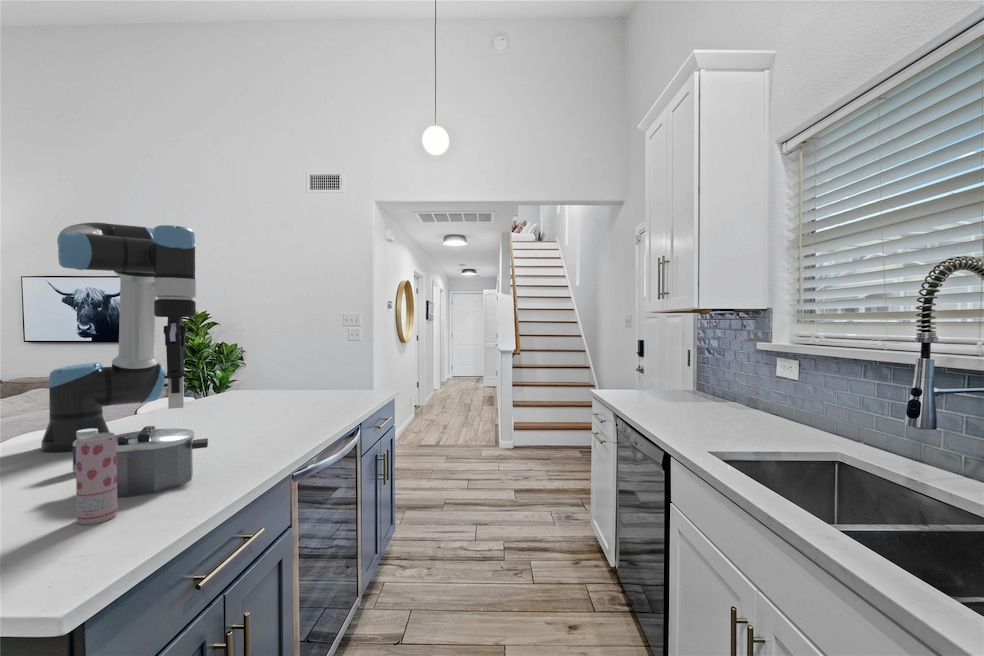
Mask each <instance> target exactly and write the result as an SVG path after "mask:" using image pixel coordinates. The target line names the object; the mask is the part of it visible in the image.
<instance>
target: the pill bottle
mask: <svg viewBox="0 0 984 656" xmlns="http://www.w3.org/2000/svg"><path fill="white" fill-rule="evenodd" d="M95 433H98V429H83V430H79V431H76V437H77V438H78V437H80V436H84V435H89V434H95ZM76 443H77V440H75V441H74V442H73V450H72V473H74V474H76Z"/></svg>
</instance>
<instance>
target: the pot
mask: <svg viewBox="0 0 984 656" xmlns="http://www.w3.org/2000/svg"><path fill="white" fill-rule="evenodd" d="M208 446H209V438H200V439H192V440H190V441H188V442H186V443H183V444H179V445H176V446H172V447H167V448H162V449H156V450H150V451H142V452H131V453H116V460H117V498H129V497H130V498H131V497H136V496H144V495H151V494H152V495H153V494H157V493H160V492H163V491H164V492H165V491H167V490H171V489H174V488H175V489H176V488H178V487H180V486H183V485H185V484H186V483H188V482H190V481H192V478H193V474H194V473H193V472H194V471H193V467H194V466H193V450H194V449H204V448H208Z"/></svg>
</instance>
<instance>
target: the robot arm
mask: <svg viewBox="0 0 984 656" xmlns="http://www.w3.org/2000/svg"><path fill="white" fill-rule="evenodd" d="M195 236H196V235H195V232H194V230H193V229H192V228H189V227H186V226H179V225H172V224H171V225H167V224H166V225H165V224H164V225H162V224H161V225H156V226H155V227H153V228H152V227H146V226H138V225H126V224H117V223H115V224H114V223H106V222H83V223H82V222H81V223H76V224H73V225H69V226H67V227H65V228H63V229H62V230H61V231H60V232H59V234H58V237H57V240H56V241H57V255H58V256H57V257H58V264H59V265H60V266H61V267H62V268H64V269H72V270H73V269H75V270H77V271H79V270H80V271H83V270H84V271H85V270H87V271H88V270H89V271H107V272H108V271H109V272H110V271H111V272H114V274H116V275H117V276H118V277H119V278H120V282H119V283H120V288H119V320H118V321H119V323H118V324H119V327H118V329H119V331H118V355H117V356H116V357H114V358H113V359H112V360H111V366H103V364H102V362H88V363H82V364H81V363H80V364H73V365H68V366H63V367H59V368H55V369H53V370H52V371H51V372H50V373H49V377H48V380H49V381H48V385H47V388H48V391H49V399H48V400H49V404H48V405H49V406H48V407H49V408H48V409H49V422H48V424H47V428H46V429H45V431H44V432H45V433H44V435H43V437H42V440H41V451H42V452H49V453H51V452H52V453H54V452H55V453H56V452H58V453H59V452H73V442H74V441H75V440H77V437H76V431H79V430H83V429H98V433H111V432H110V429H109V427H108V425H107V423H106V421H105V419H104V415H103V410H104V409H103V408H104V407H109V406H111V407H112V406H119V405H129V404H143V403H148V402H154V401H157V400H158V399H159V398H160V397H161V396H162V393H163V391H164V388H165V379H167V395H168V397H167V398H168V399H167V400H168V401H167V402H168V403H167V404H168V406H167V407H168V410H169V409H182V408H184V407H185V387H184V386H185V383H184V382H185V381H184V380H185V379H184V377H187V376H188V373H187V372H186V373H185V366H184V365H185V346H186V342H187V341H186V339H187V338H186V334H187V333H188V326H187V325H184V320H183V318H194V317H196V314H197V312H196V311H197V310H196V309H197V308H196V307H197V306H196V304H197V303H196V302H197V301H195V300H194V299H193V298H196V297H197V296H196V295H197V293H196V292H197V290H196V289H197V286H196V285H197V279H196V248H197V247H196V246H197V243H196V237H195ZM159 317H160V318H167V325H163V334H164V345H165V346H166V347H165V348H166V350H165V352H166V369H165V366H164V365H163V364H162V363H160V360H159V358H157V356H155V354H154V351H155V350H154V349H155V348H154V347H155V330H156V329H155V327H156V326H155V325H156V324H155V323H156V318H159Z"/></svg>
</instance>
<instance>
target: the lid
mask: <svg viewBox="0 0 984 656" xmlns="http://www.w3.org/2000/svg"><path fill="white" fill-rule="evenodd" d="M115 438H116V453H131V452H142V451H150V450H156V449H162V448H167V447H172V446H176V445H179V444H183V443H186V442H188V441H190V440H192V441H193V440H194V438H195V432H194V430H191V429H187V428H186V429H185V428H156V425H151V426H150V425H149V426H143V428H142V429H141V430H137V431H132V432H131V431H130V432H125V433H121V434H115Z"/></svg>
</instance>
